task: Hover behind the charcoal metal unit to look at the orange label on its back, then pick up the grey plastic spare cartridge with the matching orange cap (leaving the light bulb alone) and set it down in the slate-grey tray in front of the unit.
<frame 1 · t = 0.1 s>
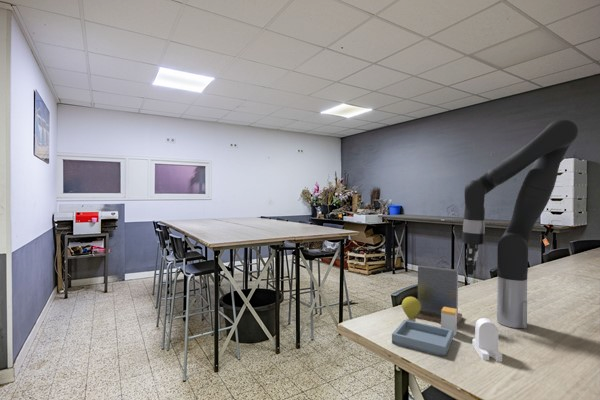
hand: (471, 272, 127), 17 cm above the table, tool pointing down, fingers open, 8 cm apart
spare cartridge: (449, 332, 113), on the table
cable organizer: (486, 353, 98), on the table
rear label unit: (437, 317, 126), on the table
light bulb: (410, 324, 120), on the table
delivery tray: (422, 341, 106), on the table
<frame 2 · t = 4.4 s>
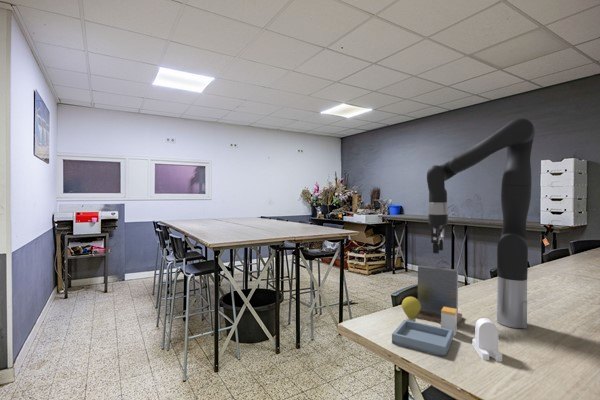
hand: (438, 251, 136), 24 cm above the table, tool pointing down, fingers open, 8 cm apart
nothing on the table moved.
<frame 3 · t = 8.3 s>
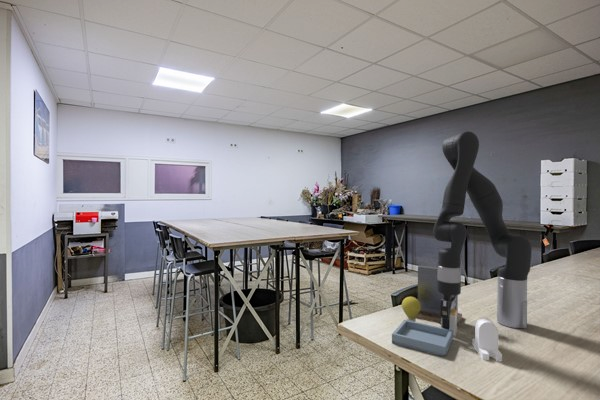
hand: (448, 325, 113), 2 cm above the table, tool pointing down, fingers open, 8 cm apart
nothing on the table moved.
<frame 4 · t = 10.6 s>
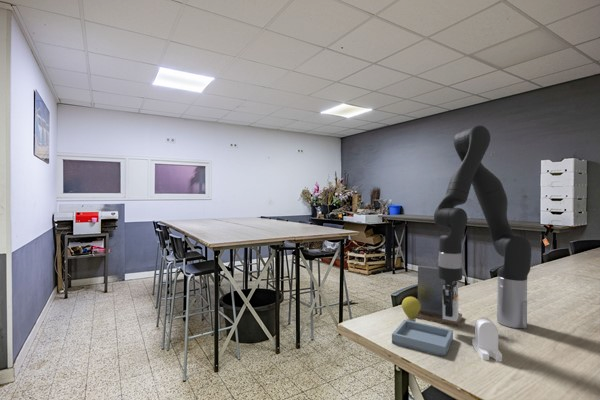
hand: (450, 313, 112), 7 cm above the table, tool pointing down, fingers closed on spare cartridge, 4 cm apart
spare cartridge: (450, 318, 112), point 5 cm above the table, touching gripper
everything else where it was.
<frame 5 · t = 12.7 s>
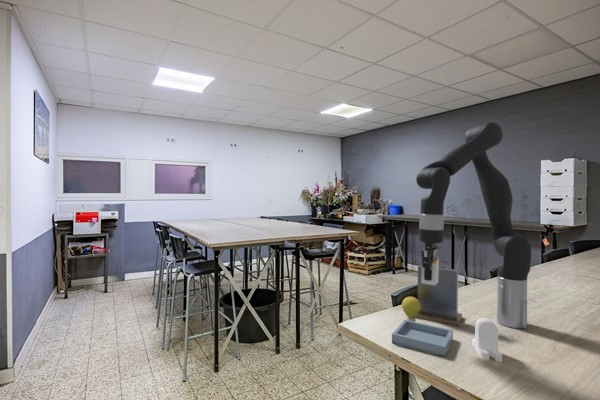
hand: (429, 278, 108), 20 cm above the table, tool pointing down, fingers closed on spare cartridge, 4 cm apart
spare cartridge: (429, 282, 108), point 19 cm above the table, touching gripper
everything else where it was.
when the fingers open (4 cm above the table, at t = 16.5 s): spare cartridge drops 1 cm, resting on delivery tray.
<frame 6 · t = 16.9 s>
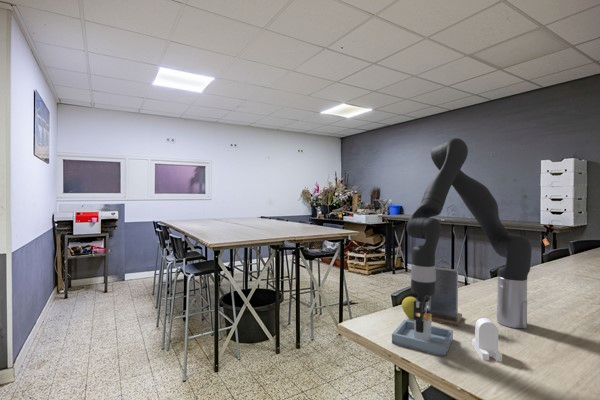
hand: (422, 327, 106), 5 cm above the table, tool pointing down, fingers open, 8 cm apart
spare cartridge: (422, 338, 106), point 1 cm above the table, touching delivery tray
everything else where it was.
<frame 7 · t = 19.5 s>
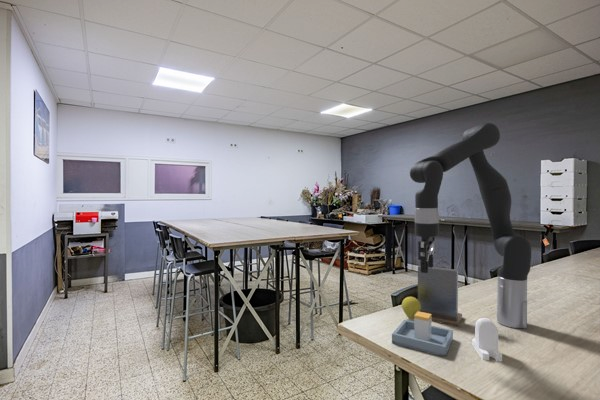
hand: (427, 269, 108), 23 cm above the table, tool pointing down, fingers open, 8 cm apart
nothing on the table moved.
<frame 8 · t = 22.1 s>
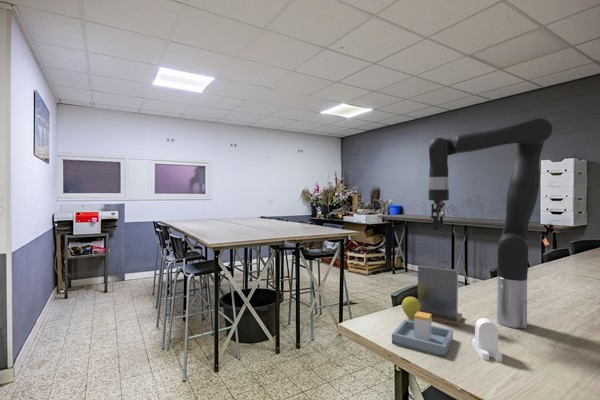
hand: (438, 228, 130), 34 cm above the table, tool pointing down, fingers open, 8 cm apart
nothing on the table moved.
at the end: spare cartridge inside the target area on the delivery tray (0.1 cm from its centre), point 0.8 cm above the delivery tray's base; spare cartridge tilted 0°; light bulb moved 0.2 cm from its start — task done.
